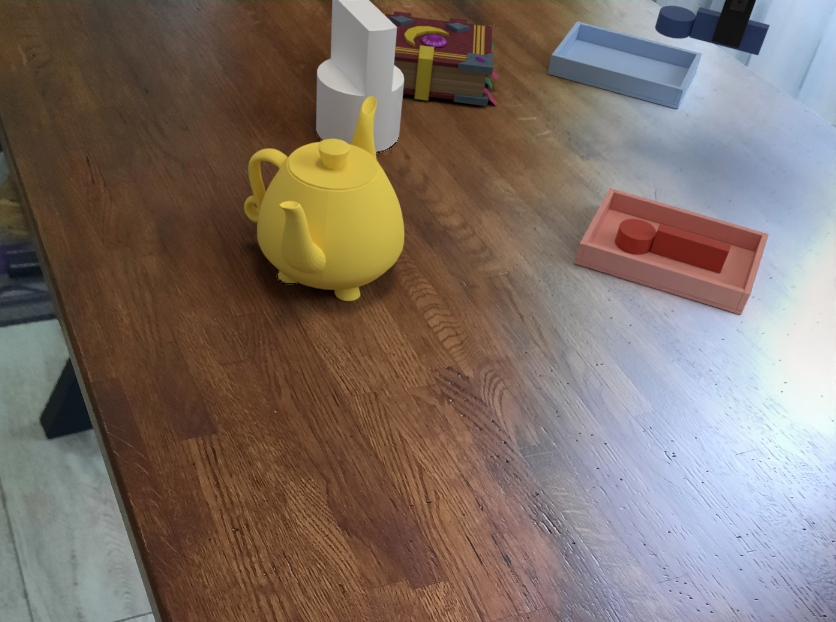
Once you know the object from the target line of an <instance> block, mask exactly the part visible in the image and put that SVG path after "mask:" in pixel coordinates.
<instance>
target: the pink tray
mask: <svg viewBox="0 0 836 622" xmlns="http://www.w3.org/2000/svg"><path fill="white" fill-rule="evenodd" d="M627 219H639V220H643V221H646V222H648V223H650V224H651V225H652V226H653V227H654V228H655V229H656V232H657V229H658V227H659V225H664V226H668V227H671V228H674V229H678V230H681V231H684V232H688V233H691V234H694V235H698V236H701V237H705V238H708V239H711V240H715V241H718V242H721V243H725V244H728V245H731V248H730V251H729V254H728V256H727V258H726V261H725V263H724V265H723V268H722V270H721V273H717V272H714V271H710V270H707V269H704V268H700V267H697V266H694V265H691V264H687V263H684V262H681V261H677V260H674V259H671V258H667V257H664V256H661V255H658V254H654V253H651V252H650V251H649V252H647V253H645V254H630V253H627V252H625V251H623V250H621V249H620V248H619V247H618V246H617V245H616V243H615V238H616V235H617V232H618V228H619V225H620V223H621V222H622V221H624V220H627ZM768 239H769V233H767V232H763V231H759V230H756V229H753V228H749V227H746V226H742V225H739V224H736V223H732V222H728V221H725V220H722V219H718V218H715V217H711V216H708V215H706V214H705V215H704V214H702V213H698V212H694V211H691V210H687V209H684V208H681V207H677V206H673V205H670V204H668V203H667V204H666V203H664V202H659V201H657V200H653V199H649V198H647V197H644V196H643V197H642V196H639V195H635V194H631V193H629V192H625V191H622V190H619V189H615V188H612V187H609V188H608V190H607V192H606V194H605V195H604V198H603V199H602V201H601V203H600V205H599V206H598V208H597V211H596V212H595V214H594V216H593V218H592V220H591V222H590V223H589V225H588V227H587V228H586V231H585V233H584V234H583V236H582V237H581V240H580V242H579V245H578V249H577V252H576V255H575V260H574V265H577V266H580V267H584V268H588V269H591V270H594V271H597V272H600V273H604V274H606V275H610V276H613V277H617V278H620V279H623V280H627V281H630V282H633V283H636V284H640V285H642V286H645V287H649V288H653V289H655V290H658V291H662V292H665V293H669V294H672V295H674V296H675V295H676V296H679V297H682V298H685V299H688V300H691V301H695V302H697V303H702V304H705V305H708V306H710V307H714V308H717V309H720V310H724V311H727V312H729V313H730V312H731V313H734V314H737V315H742V313H743V311H744V309H745V307H746V305H747V303H748V301H749V298H750V296H751V292H752V290H753V287H754V283H755V280H756V277H757V274H758V270H759V267H760V264H761V261H762V258H763V254H764V251H765V248H766V245H767V241H768Z"/></svg>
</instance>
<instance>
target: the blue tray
mask: <svg viewBox="0 0 836 622" xmlns="http://www.w3.org/2000/svg"><path fill="white" fill-rule="evenodd" d="M702 56H703V53H702V52H697V51H694V50H689V49H687V48H683V47H679V46H674V45H671V44H668V43H667V44H666V43H663V42H659V41H656V40H651V39H648V38H643V37H639V36H636V35H632V34H628V33H624V32H620V31H617V30H613V29H609V28H606V27H602V26H598V25H594V24H590V23H586V22H582V21H578V20H577V21H576V22H575V23H574V25H573V26H572V27H571V29H570V30H569V31H568V32H567V34H566V35H565V36H564V38H563V39H562V40H561V42H560V43H559V44H558V46H557V47H556V48H555V50H554V51H553V52H552V54H551V56H550V60H549V64H548V70H547V75H549V76H550V75H551V76H554V77H558V78H562V79H564V80H569V81H573V82H576V83H580V84H584V85H588V86H591V87H594V88H598V89H601V90H605V91H610V92H613V93H616V94H620V95H624V96H628V97H632V98H634V99H639V100H643V101H647V102H650V103H654V104H658V105H661V106H663V107H664V106H665V107H668V108H671V109H675V110H678V109H679V107H680V105H681V103H682V101H683V99H684V97H685V95H686V93H687V91H688V89H689V87H690V85H691V84H692V81H693V79H694V77H695V75H696V74H697V71H698V68H699V65H700V62H701V59H702Z"/></svg>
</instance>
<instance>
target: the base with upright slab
mask: <svg viewBox="0 0 836 622" xmlns="http://www.w3.org/2000/svg"><path fill="white" fill-rule="evenodd" d="M331 1H332V3H331V5H332V6H331V36H330V41H331V42H330V58H329V59H326V60H324V61H323V62H322V63H321V64H319V65H318V68H317V69H316V106H315V107H316V108H315V109H316V111H315V112H316V113H315V114H316V117H315V124H316V125H315V132H316V131H317V133H318V134H319V136H320V137H321V138H322V139H323V140H325V139H339V140H343V141H345V142H347V143H348V144H350V145H351V142H352V138H353V135H354V132H355V128H356V124H357V120H358V116H359V112H360V109H361V106H362V104H363V102H364V101H365V100H366V98H368V97H370V96H374V97H375V98H376V100H377V106H376V112H375V117H374V143H375V152H377V151H381V150H385V149H387V148H389V147H390V146H392V145H393V144H394V143H395V142H397V143H398V141H399V139H398V137H399V138H400V129H401V120H402V109H403V96H404V94H403V87H404V76H403V73H402V72H401V71H400V69H399V68H397V67H396V66H395V65H394V58H395V46H396V33H397V27H396V26H395V25H394V24H393V23H392V22H391V21H390V20H389V19H388V18H387V17H386V16H385V15H384V14H385V13H383V12H382V11H381V10H380V9H379V8H378V7H377V6H376V5H374V3H372V2H371V0H331ZM397 140H398V141H397Z"/></svg>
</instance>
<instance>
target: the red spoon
mask: <svg viewBox="0 0 836 622" xmlns="http://www.w3.org/2000/svg"><path fill="white" fill-rule="evenodd" d="M615 243H616V245H617V246H618V247H619V248H620V249H621V250H623V251H625V252H627V253H630V254H645V253H647V252H649V251H650V252H651V253H654V254H658V255H661V256H664V257H667V258H671V259H674V260H677V261H681V262H684V263H687V264H691V265H694V266H697V267H700V268H704V269H707V270H710V271H714V272H717V273H721V270H722V268H723V265H724V263H725V261H726V258H727V256H728V254H729V251H730V248H731V245H728V244H725V243H721V242H718V241H715V240H711V239H708V238H705V237H701V236H698V235H694V234H691V233H688V232H684V231H681V230H678V229H674V228H671V227H668V226H664V225H659V227H658V229H657V232H656V229H655V228H654V227H653V226H652V225H651V224H650V223H648V222H646V221H643V220H639V219H627V220H624V221H622V222H621V223H620V225H619V228H618V232H617V235H616V238H615Z"/></svg>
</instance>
